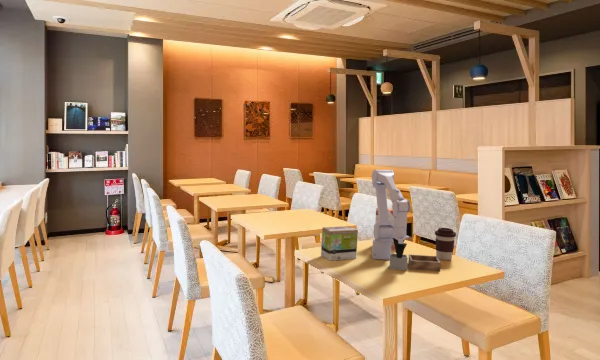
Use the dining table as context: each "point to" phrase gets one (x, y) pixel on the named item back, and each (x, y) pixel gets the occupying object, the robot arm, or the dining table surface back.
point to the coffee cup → (444, 243)
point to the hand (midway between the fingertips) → (398, 255)
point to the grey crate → (398, 262)
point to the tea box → (339, 243)
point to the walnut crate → (424, 262)
